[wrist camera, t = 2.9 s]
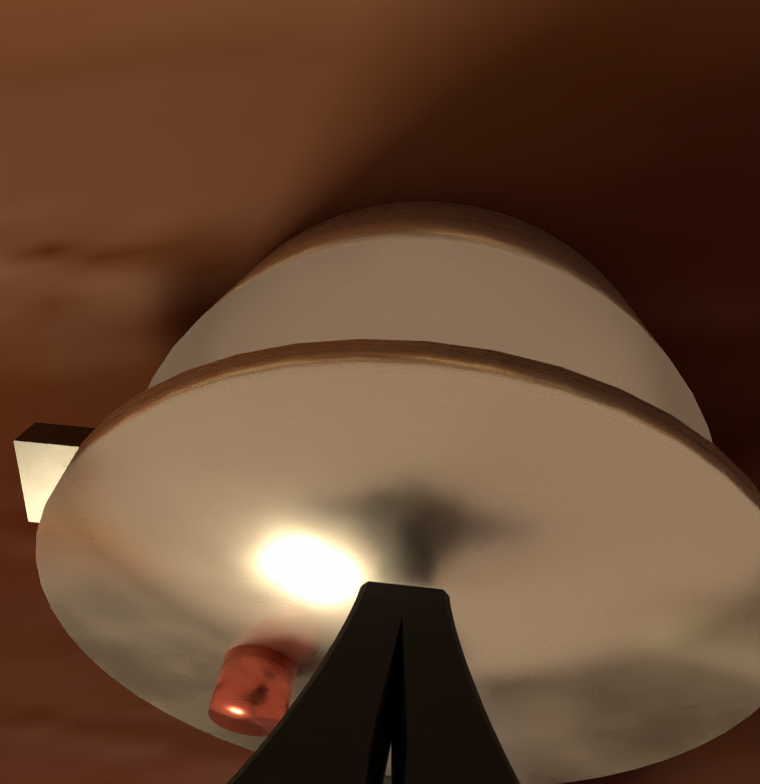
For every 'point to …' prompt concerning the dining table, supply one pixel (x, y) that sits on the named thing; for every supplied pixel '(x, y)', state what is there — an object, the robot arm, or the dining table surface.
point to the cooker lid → (416, 545)
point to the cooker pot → (413, 310)
